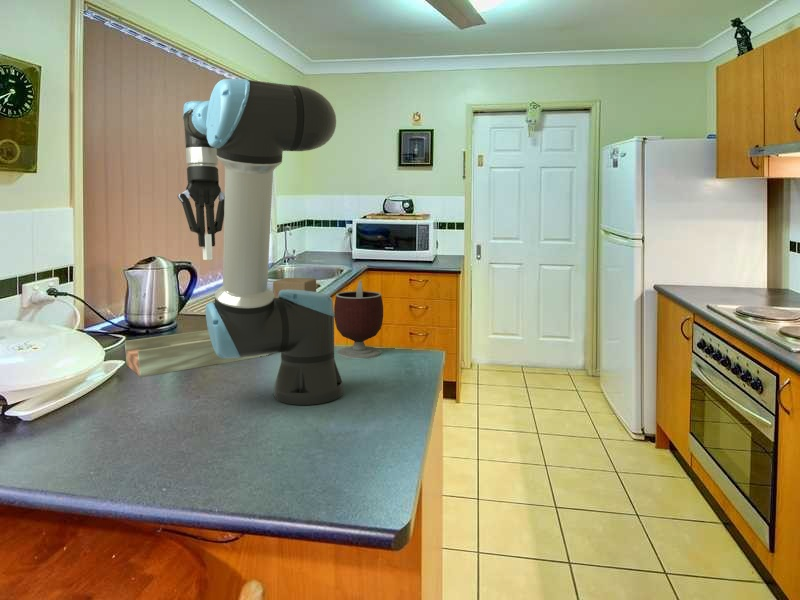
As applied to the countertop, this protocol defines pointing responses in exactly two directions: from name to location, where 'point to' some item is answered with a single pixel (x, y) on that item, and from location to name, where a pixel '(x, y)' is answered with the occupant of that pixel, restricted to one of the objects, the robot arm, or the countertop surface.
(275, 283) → the wooden block
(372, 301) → the mate gourd
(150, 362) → the channel runway
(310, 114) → the robot arm
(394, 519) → the countertop surface
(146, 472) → the countertop surface
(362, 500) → the countertop surface
